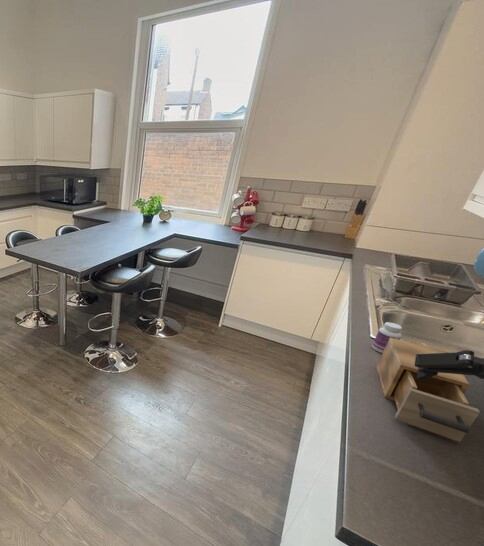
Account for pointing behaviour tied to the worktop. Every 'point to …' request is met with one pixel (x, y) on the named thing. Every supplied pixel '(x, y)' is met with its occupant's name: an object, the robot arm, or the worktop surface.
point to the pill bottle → (386, 336)
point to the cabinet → (408, 365)
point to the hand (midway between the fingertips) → (466, 386)
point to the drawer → (433, 405)
